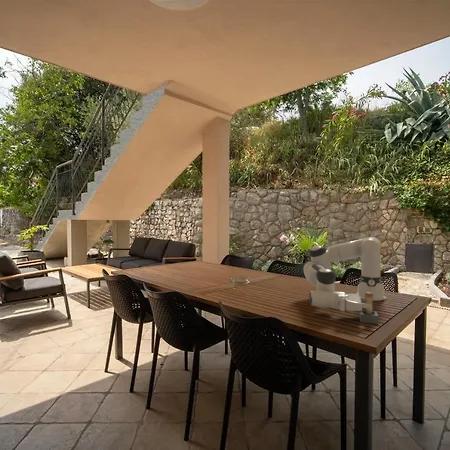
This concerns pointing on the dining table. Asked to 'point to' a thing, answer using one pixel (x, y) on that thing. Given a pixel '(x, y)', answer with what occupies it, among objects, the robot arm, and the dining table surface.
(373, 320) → the square socket block
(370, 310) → the dowel
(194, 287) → the dining table surface
